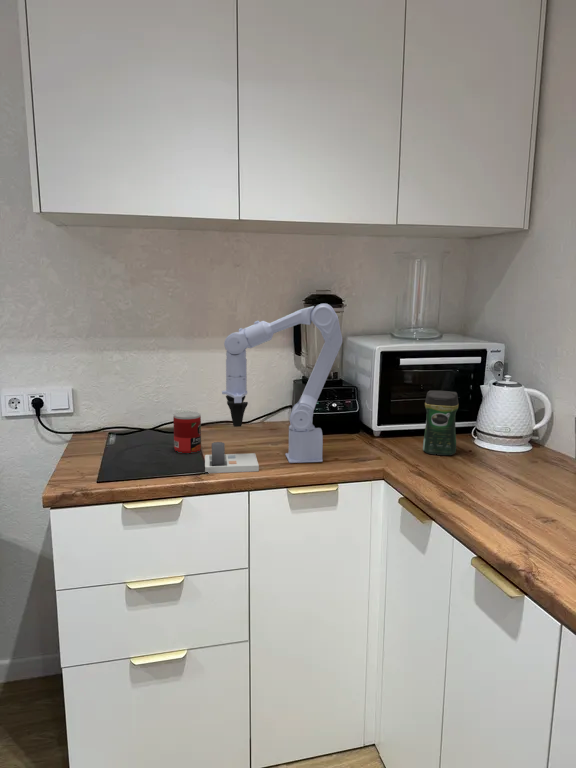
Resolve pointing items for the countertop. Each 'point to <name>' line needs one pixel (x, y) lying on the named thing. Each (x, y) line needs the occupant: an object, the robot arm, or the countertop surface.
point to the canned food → (187, 431)
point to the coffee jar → (440, 422)
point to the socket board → (233, 463)
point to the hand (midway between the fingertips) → (236, 423)
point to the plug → (218, 454)
